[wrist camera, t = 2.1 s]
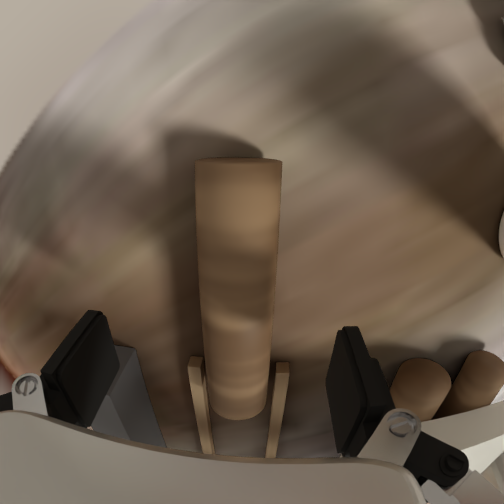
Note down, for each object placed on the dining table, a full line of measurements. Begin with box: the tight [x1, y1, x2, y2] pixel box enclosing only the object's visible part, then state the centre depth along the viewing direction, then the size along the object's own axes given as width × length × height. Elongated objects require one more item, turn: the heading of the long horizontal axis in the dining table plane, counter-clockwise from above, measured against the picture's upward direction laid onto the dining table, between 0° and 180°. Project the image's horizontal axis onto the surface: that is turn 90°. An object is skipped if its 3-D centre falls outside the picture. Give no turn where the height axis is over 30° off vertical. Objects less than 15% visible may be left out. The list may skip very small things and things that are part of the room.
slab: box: [340, 401, 504, 474], centre depth 15 cm, size 10×14×3 cm
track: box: [187, 350, 504, 458], centre depth 19 cm, size 14×23×4 cm, turn 89°
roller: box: [195, 157, 282, 420], centre depth 15 cm, size 14×4×4 cm, turn 179°
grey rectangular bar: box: [91, 345, 167, 448], centre depth 19 cm, size 14×3×4 cm, turn 179°
